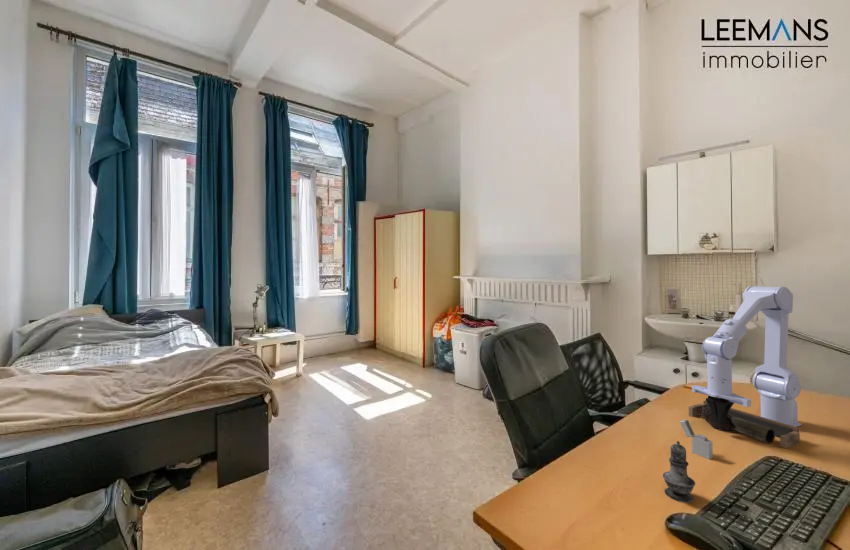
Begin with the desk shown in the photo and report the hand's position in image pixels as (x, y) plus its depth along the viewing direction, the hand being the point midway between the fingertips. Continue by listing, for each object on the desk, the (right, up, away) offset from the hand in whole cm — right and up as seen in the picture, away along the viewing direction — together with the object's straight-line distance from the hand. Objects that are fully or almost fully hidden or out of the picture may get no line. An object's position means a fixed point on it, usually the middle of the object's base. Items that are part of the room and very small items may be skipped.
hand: (720, 422), depth 107 cm
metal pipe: (+5, -4, +2) cm, 7 cm away
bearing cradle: (+10, -3, +4) cm, 11 cm away
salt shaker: (-33, -4, -29) cm, 44 cm away
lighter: (-15, -4, -11) cm, 19 cm away
